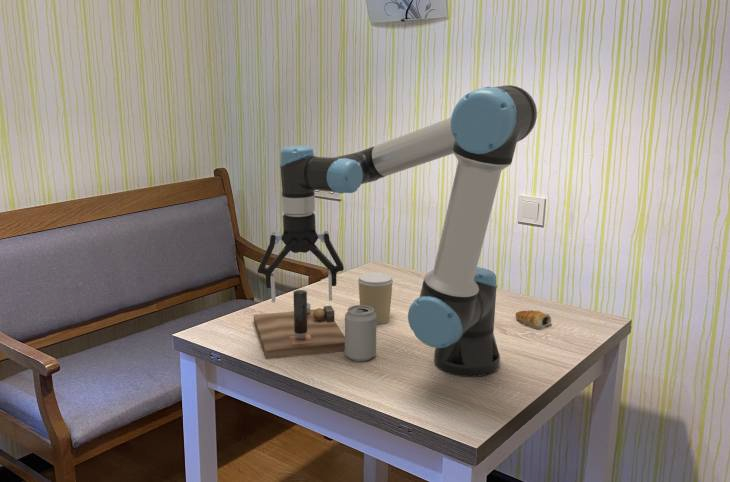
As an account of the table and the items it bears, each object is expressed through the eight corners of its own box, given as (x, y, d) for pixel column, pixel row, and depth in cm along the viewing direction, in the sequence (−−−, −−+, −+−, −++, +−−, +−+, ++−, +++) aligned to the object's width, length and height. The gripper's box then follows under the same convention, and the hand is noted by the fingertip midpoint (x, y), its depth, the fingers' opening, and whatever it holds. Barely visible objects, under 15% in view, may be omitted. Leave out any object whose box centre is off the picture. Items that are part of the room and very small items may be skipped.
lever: (295, 309, 193) (295, 267, 189) (310, 309, 193) (310, 267, 190) (292, 341, 172) (291, 294, 169) (309, 341, 172) (308, 294, 169)
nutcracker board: (348, 350, 173) (348, 330, 171) (265, 358, 168) (265, 338, 166) (327, 315, 195) (326, 297, 194) (253, 322, 190) (253, 303, 188)
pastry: (509, 321, 192) (510, 308, 191) (524, 315, 196) (525, 302, 196) (539, 331, 185) (540, 317, 184) (553, 325, 190) (554, 311, 189)
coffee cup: (393, 313, 197) (394, 272, 193) (391, 326, 188) (391, 283, 184) (359, 312, 197) (360, 271, 194) (356, 324, 188) (356, 281, 185)
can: (381, 353, 171) (382, 306, 168) (366, 365, 164) (366, 316, 161) (355, 347, 174) (355, 301, 171) (338, 358, 168) (338, 310, 165)
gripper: (351, 208, 169) (353, 292, 175) (246, 211, 168) (251, 296, 173) (353, 215, 162) (354, 303, 167) (243, 218, 161) (248, 306, 166)
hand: (302, 299), depth 170 cm, fingers open, 13 cm apart
